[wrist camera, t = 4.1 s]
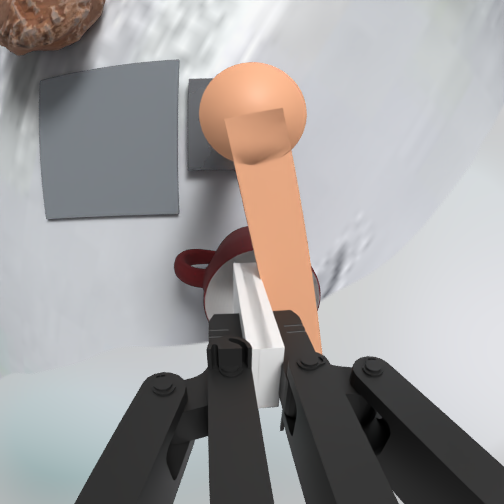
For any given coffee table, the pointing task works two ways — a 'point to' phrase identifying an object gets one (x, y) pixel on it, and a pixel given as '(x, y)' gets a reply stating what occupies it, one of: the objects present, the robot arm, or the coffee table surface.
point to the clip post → (201, 134)
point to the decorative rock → (45, 23)
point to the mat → (110, 141)
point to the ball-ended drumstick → (266, 176)
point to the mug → (221, 271)
